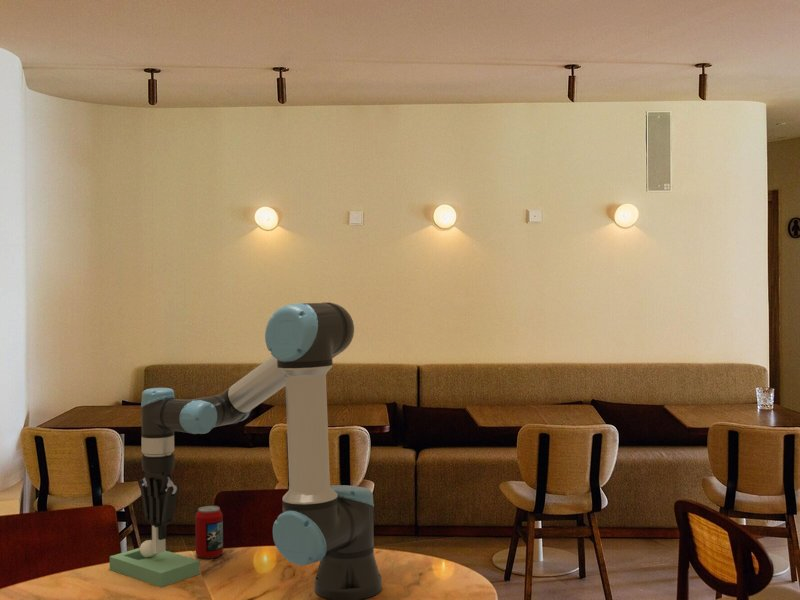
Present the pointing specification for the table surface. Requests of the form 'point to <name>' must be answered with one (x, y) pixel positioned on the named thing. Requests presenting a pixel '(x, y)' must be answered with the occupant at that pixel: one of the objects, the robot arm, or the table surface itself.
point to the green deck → (155, 567)
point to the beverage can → (209, 532)
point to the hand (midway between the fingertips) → (158, 551)
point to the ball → (146, 548)
